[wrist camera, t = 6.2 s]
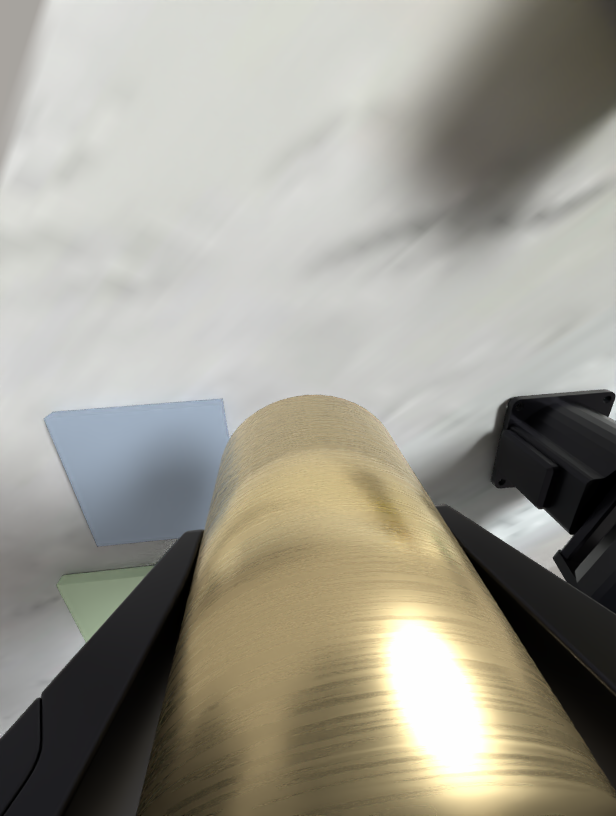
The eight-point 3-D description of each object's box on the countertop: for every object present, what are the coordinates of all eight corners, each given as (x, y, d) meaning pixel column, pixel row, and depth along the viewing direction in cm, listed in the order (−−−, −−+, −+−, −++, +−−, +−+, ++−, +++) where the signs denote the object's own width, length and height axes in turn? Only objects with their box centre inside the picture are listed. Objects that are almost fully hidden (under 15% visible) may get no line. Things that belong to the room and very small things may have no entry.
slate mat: (222, 398, 19) (220, 404, 18) (242, 522, 23) (241, 531, 22) (52, 411, 18) (43, 418, 18) (103, 536, 22) (97, 546, 21)
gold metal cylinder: (403, 387, 9) (739, 743, 2) (391, 533, 11) (555, 926, 5) (204, 403, 8) (5, 863, 2) (232, 550, 11) (174, 998, 4)
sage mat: (197, 560, 24) (195, 570, 23) (218, 640, 28) (216, 650, 27) (62, 575, 23) (56, 585, 23) (102, 654, 27) (98, 665, 26)
